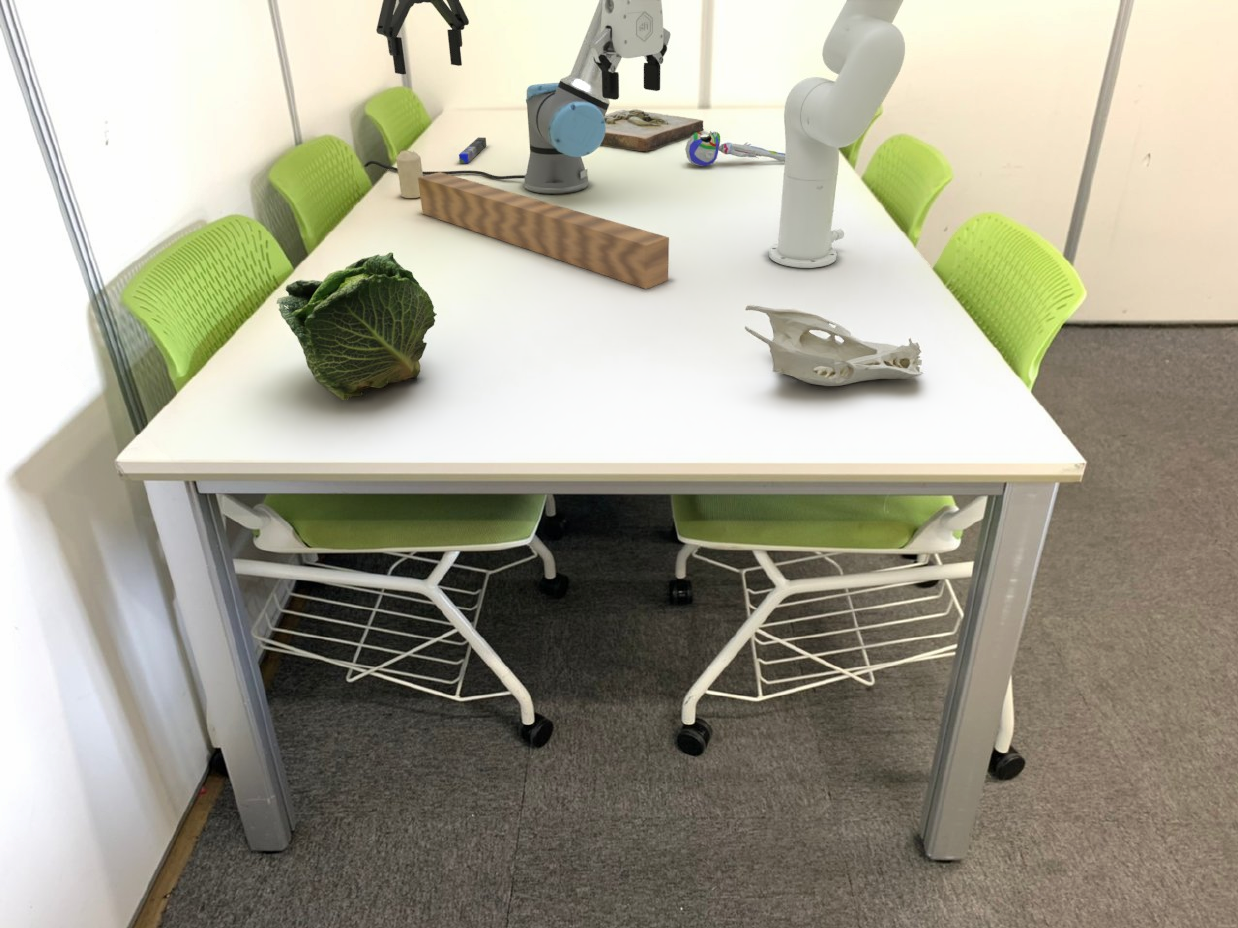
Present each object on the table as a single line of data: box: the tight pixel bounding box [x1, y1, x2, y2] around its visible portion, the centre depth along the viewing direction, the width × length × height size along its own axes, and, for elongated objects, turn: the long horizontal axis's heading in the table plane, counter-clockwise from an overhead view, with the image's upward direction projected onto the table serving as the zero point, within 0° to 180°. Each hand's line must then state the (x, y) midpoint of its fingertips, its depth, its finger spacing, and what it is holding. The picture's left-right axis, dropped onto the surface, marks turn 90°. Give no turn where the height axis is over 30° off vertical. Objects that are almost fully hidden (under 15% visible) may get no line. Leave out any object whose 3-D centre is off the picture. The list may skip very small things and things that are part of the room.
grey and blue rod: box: [458, 136, 487, 164], centre depth 242 cm, size 2×2×20 cm
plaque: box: [600, 108, 705, 152], centre depth 257 cm, size 30×7×30 cm
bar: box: [418, 171, 670, 290], centre depth 177 cm, size 67×6×8 cm, turn 46°
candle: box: [395, 149, 424, 199], centre depth 207 cm, size 6×6×10 cm
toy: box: [684, 130, 785, 167], centre depth 229 cm, size 10×8×30 cm
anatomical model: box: [744, 304, 924, 387], centre depth 126 cm, size 15×9×25 cm
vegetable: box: [276, 251, 438, 401], centre depth 124 cm, size 20×19×20 cm
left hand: (429, 69), depth 180 cm, fingers open, 13 cm apart
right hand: (631, 94), depth 146 cm, fingers open, 9 cm apart
